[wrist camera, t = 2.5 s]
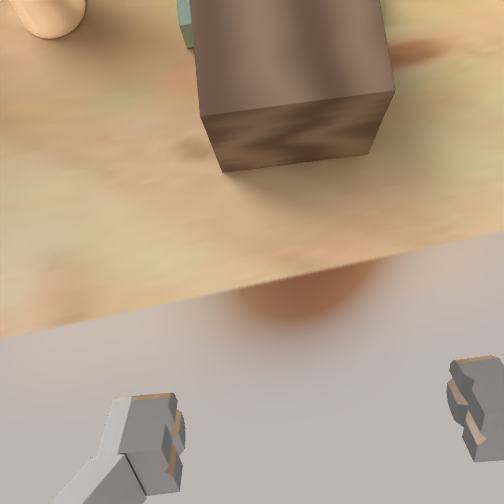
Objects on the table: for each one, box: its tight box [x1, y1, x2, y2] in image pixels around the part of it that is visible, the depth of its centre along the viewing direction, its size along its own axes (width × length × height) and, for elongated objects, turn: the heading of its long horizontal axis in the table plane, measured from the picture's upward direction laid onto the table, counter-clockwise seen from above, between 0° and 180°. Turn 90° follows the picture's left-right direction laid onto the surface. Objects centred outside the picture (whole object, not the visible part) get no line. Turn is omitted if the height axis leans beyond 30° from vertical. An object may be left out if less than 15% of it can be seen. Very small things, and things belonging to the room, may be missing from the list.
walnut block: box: [190, 0, 395, 173], centre depth 34 cm, size 12×12×10 cm
